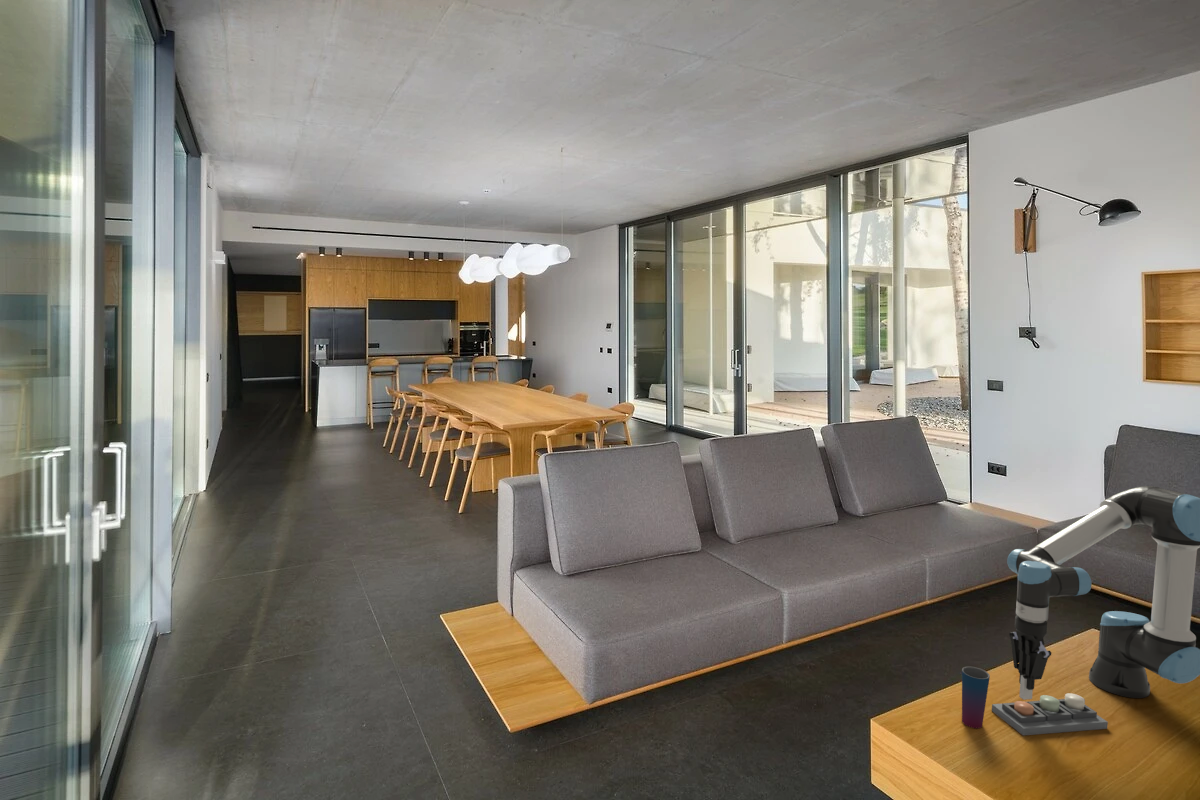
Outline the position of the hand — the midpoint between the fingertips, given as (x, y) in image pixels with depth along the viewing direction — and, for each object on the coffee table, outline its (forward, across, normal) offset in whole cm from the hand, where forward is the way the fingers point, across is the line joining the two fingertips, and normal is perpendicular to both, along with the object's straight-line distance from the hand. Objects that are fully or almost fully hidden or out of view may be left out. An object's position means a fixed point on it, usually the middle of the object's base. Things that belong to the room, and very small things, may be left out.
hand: (1025, 697), depth 189 cm
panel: (+7, 0, +8) cm, 10 cm away
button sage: (+4, 0, +8) cm, 8 cm away
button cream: (+4, 0, +16) cm, 16 cm away
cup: (+7, -1, -15) cm, 17 cm away
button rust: (+5, 0, 0) cm, 5 cm away
